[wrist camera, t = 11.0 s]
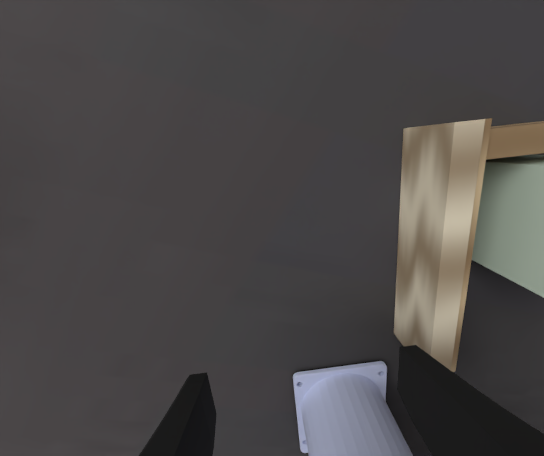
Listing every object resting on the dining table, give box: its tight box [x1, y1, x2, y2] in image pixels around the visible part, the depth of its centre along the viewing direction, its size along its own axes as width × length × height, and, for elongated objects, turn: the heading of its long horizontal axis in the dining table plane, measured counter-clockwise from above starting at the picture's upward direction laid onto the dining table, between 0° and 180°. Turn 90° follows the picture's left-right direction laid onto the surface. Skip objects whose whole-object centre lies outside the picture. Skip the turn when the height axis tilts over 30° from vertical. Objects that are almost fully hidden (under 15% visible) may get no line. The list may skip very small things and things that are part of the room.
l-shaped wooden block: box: [394, 118, 544, 372], centre depth 17 cm, size 16×8×4 cm, turn 6°
